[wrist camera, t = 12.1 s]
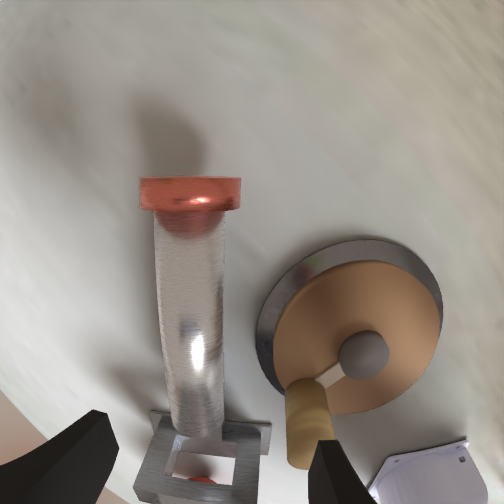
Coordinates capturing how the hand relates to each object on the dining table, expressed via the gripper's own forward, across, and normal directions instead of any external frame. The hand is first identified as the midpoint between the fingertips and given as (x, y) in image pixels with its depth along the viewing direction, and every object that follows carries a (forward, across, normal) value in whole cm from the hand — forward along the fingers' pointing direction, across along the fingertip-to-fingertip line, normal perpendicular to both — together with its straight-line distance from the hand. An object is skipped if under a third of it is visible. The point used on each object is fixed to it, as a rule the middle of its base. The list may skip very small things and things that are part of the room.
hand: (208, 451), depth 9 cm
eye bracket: (+9, +2, +7) cm, 12 cm away
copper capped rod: (+8, +2, -2) cm, 8 cm away
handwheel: (+9, -7, 0) cm, 12 cm away
